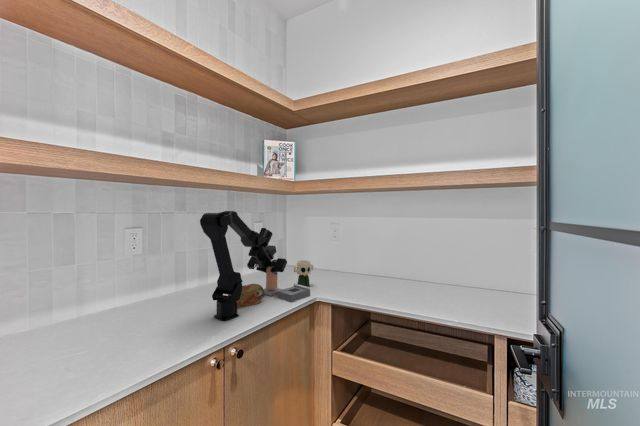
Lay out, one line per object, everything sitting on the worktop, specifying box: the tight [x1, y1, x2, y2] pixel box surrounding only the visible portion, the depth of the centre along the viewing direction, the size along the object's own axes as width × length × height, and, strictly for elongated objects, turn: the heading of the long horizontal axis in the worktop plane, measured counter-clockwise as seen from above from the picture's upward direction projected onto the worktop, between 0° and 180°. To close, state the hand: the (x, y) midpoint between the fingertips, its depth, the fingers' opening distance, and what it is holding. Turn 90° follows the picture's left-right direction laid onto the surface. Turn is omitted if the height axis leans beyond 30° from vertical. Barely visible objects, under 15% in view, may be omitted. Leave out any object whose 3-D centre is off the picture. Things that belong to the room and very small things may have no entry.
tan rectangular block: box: [265, 267, 279, 290], centre depth 131 cm, size 4×4×12 cm
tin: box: [227, 283, 265, 309], centre depth 113 cm, size 15×3×8 cm, turn 129°
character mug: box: [293, 260, 314, 287], centre depth 141 cm, size 11×7×13 cm, turn 118°
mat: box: [263, 287, 284, 297], centre depth 131 cm, size 9×9×1 cm
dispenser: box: [276, 283, 311, 303], centre depth 125 cm, size 12×9×4 cm
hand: (273, 273), depth 133 cm, fingers closed on tan rectangular block, 3 cm apart
